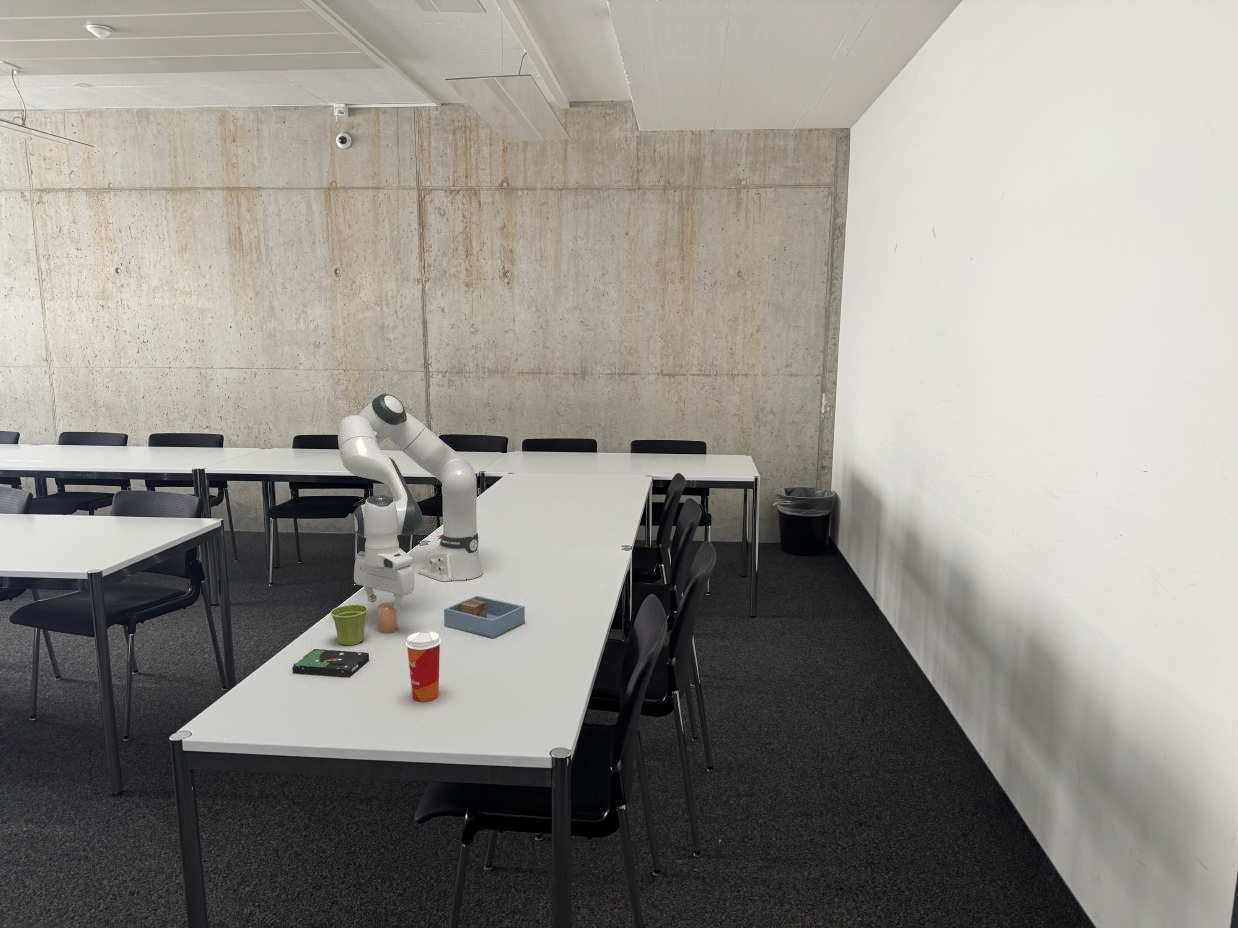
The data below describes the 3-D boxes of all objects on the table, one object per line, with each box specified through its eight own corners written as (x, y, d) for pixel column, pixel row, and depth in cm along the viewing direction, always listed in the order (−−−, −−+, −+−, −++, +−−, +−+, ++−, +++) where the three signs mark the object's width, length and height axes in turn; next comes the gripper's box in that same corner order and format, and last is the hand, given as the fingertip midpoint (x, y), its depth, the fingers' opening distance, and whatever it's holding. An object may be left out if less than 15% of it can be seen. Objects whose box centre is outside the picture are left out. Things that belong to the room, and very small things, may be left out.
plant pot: (334, 650, 200) (333, 618, 199) (329, 638, 208) (328, 607, 207) (372, 644, 204) (370, 612, 203) (366, 632, 212) (364, 602, 211)
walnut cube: (474, 624, 217) (474, 607, 216) (461, 621, 220) (460, 604, 219) (486, 619, 221) (486, 602, 221) (473, 615, 224) (472, 599, 223)
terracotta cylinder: (374, 631, 214) (373, 606, 213) (388, 625, 218) (387, 601, 217) (387, 634, 211) (386, 610, 210) (401, 628, 215) (400, 604, 214)
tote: (444, 626, 217) (443, 609, 217) (477, 611, 229) (476, 595, 228) (493, 638, 208) (492, 620, 208) (524, 623, 220) (524, 606, 219)
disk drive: (369, 662, 194) (314, 658, 197) (369, 652, 194) (313, 647, 196) (349, 680, 184) (291, 675, 186) (349, 669, 184) (291, 664, 186)
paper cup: (411, 689, 178) (408, 630, 176) (445, 688, 179) (443, 629, 177) (404, 704, 171) (402, 644, 168) (440, 703, 171) (438, 643, 169)
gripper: (347, 552, 214) (349, 601, 216) (399, 564, 203) (401, 615, 205) (365, 547, 219) (367, 594, 221) (417, 559, 209) (418, 608, 211)
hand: (384, 604), depth 213 cm, fingers open, 8 cm apart
